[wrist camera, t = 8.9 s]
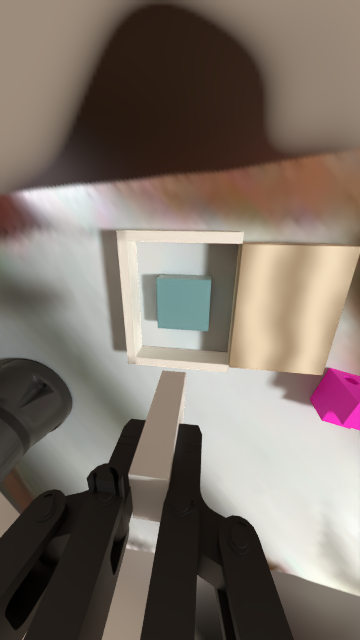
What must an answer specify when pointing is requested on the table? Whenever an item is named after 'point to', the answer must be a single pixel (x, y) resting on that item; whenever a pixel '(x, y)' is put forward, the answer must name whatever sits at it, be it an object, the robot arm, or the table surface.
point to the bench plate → (288, 304)
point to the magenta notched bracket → (338, 399)
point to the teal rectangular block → (183, 301)
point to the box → (132, 301)
